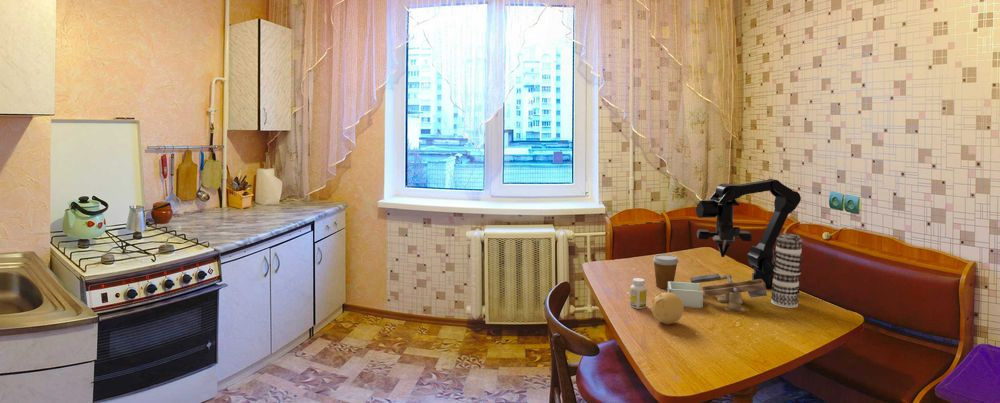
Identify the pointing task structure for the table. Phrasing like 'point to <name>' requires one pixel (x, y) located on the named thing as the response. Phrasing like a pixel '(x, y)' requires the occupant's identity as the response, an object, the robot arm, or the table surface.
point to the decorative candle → (787, 270)
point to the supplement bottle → (638, 294)
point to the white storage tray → (687, 293)
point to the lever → (731, 286)
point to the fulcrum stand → (732, 301)
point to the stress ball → (667, 308)
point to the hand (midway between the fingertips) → (722, 256)
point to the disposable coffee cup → (664, 269)
